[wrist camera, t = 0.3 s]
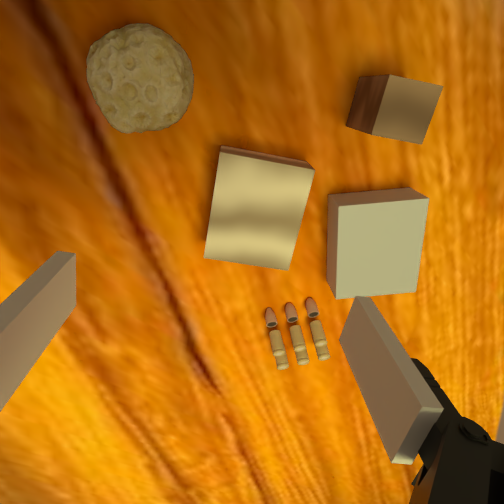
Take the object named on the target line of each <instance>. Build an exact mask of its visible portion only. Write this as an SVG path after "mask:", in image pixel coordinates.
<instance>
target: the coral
mask: <svg viewBox="0 0 504 504" xmlns="http://www.w3.org/2000/svg"><path fill="white" fill-rule="evenodd" d="M87 82H88V84H89V87H90V89H91V91H92V94H93V97H94V99H95V100H96V104H97V105H99V106H100V109H101V111H102V113H103V114H104V116H105V117H106V118H107V120H108V122H109V123H110V124H111V126H112V127H114V128H115V129H117V130H118V131H120V132H122V133H132V132H139V133H143V132H144V131H155V130H162V129H164V128H168V127H169V126H170V125H172V124H174V123H177V122H178V121H179V120H180V119H181V118H182V116H183V115H184V113H185V112H186V111H187V107H188V105H189V103H190V101H191V99H192V94H193V84H194V74H193V69H192V66H191V61H190V59H189V58H188V56H187V54H186V52H185V51H184V50H183V49H182V48H181V46H180V44H178V43H177V42H175V41H174V40H173V38H172V37H171V36H170V35H169V34H167V33H165V32H164V31H163V30H161V29H159V28H157V27H155V26H152V25H150V24H140V23H136V24H129V25H126V26H125V27H123V28H121V29H116V30H115V29H114V30H113V31H111V32H110V33H107V34H105V35H104V36H103V37H102V38H101V39H100V40H97V41H95V42H94V43H93V45H91V46H90V50H89V53H88V57H87Z"/></svg>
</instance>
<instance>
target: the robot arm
mask: <svg viewBox="0 0 504 504" xmlns="http://www.w3.org/2000/svg"><path fill="white" fill-rule="evenodd" d="M75 306H76V254H75V253H68V252H61V251H57V252H56V253H55V254H54V255H53V256H51V257H50V258H49V259H48V260H47V261H46V262H45V263H44V264H43V265H42V266H41V267H40V268H39V269H38V270H37V271H35V272H34V273H33V274H32V275H31V276H30V277H29V278H28V279H27V280H26V281H25V282H24V283H23V284H22V285H21V286H19V287H18V288H17V289H16V290H15V291H14V292H13V293H12V294H11V295H10V296H9V297H8V298H7V299H6V300H4V301H3V302H2V303H1V304H0V411H1V410H2V409H3V407H4V406H5V404H6V403H7V402H8V400H9V399H10V397H11V396H12V395H13V393H14V392H15V390H16V389H17V388H18V386H19V385H20V383H21V382H22V381H23V379H24V378H25V376H26V375H27V374H28V372H29V371H30V369H31V368H32V367H33V365H34V364H35V362H36V361H37V360H38V358H39V357H40V355H41V354H42V353H43V351H44V350H45V348H46V347H47V346H48V344H49V343H50V341H51V340H52V339H53V337H54V336H55V334H56V333H57V332H58V330H59V329H60V327H61V326H62V325H63V323H64V322H65V320H66V319H67V318H68V316H69V315H70V313H71V312H72V311H73V309H74V308H75ZM339 341H340V344H341V346H342V348H343V351H344V353H345V355H346V358H347V360H348V362H349V365H350V367H351V369H352V372H353V374H354V376H355V379H356V381H357V384H358V386H359V388H360V391H361V393H362V395H363V398H364V400H365V402H366V405H367V407H368V409H369V412H370V414H371V416H372V419H373V421H374V423H375V426H376V428H377V430H378V433H379V435H380V438H381V440H382V442H383V445H384V447H385V449H386V452H387V454H388V456H389V459H390V461H391V463H399V464H412V463H413V461H414V459H415V458H416V456H417V454H418V453H419V455H420V457H421V459H422V461H423V463H424V464H423V465H422V467H421V469H420V470H419V472H418V474H417V475H416V477H415V479H414V480H413V482H412V485H413V486H414V490H413V493H412V496H411V499H410V502H409V504H504V444H501V443H498V442H496V441H493V440H492V439H491V438H490V436H489V435H488V433H487V432H486V431H485V430H484V429H483V428H482V427H481V426H480V425H478V424H477V423H475V422H474V421H472V420H470V419H468V418H466V417H462V416H461V415H460V414H459V413H458V411H457V410H456V408H455V407H454V405H453V404H452V403H451V401H450V400H449V398H448V397H447V395H446V394H445V392H444V391H443V390H442V389H441V388H440V385H439V384H438V382H437V381H436V380H434V379H435V378H434V377H433V375H432V374H431V372H430V371H429V370H428V368H427V367H426V366H424V365H423V364H422V363H421V362H420V361H419V360H418V359H414V358H410V357H409V355H408V354H407V352H406V351H405V349H404V348H403V346H402V345H401V343H400V342H399V340H398V339H397V337H396V336H395V334H394V333H393V331H392V330H391V328H390V327H389V325H388V324H387V322H386V321H385V319H384V318H383V316H382V315H381V313H380V312H379V310H378V308H377V307H376V305H375V304H374V302H373V301H372V299H371V298H369V297H362V296H355V299H354V302H353V304H352V307H351V310H350V312H349V315H348V318H347V320H346V323H345V326H344V328H343V331H342V334H341V336H340V339H339Z"/></svg>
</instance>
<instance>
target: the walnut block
mask: <svg viewBox="0 0 504 504" xmlns="http://www.w3.org/2000/svg"><path fill="white" fill-rule="evenodd" d="M442 88H443V86H440V85H435V84H431V83H426V82H422V81H417V80H412V79H408V78H403V77H399V76H394V75H379V76H367V77H359V80H358V84H357V88H356V91H355V95H354V98H353V102H352V106H351V109H350V113H349V117H348V120H347V124H346V126H347V127H350V128H353V129H356V130H359V131H362V132H365V133H368V134H371V135H375V136H381V137H386V138H391V139H396V140H401V141H406V142H412V143H417V144H422V143H423V140H424V137H425V135H426V132H427V129H428V126H429V124H430V121H431V118H432V116H433V113H434V110H435V107H436V105H437V102H438V99H439V97H440V94H441V91H442Z"/></svg>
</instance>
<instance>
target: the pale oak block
mask: <svg viewBox="0 0 504 504" xmlns="http://www.w3.org/2000/svg"><path fill="white" fill-rule="evenodd" d="M314 173H315V169H314V168H313V167H312V166H311V165H310V164H309V163H308V162H307V161H301V160H296V159H291V158H286V157H281V156H276V155H270V154H265V153H260V152H255V151H250V150H244V149H239V148H234V147H229V146H224V145H221V149H220V155H219V161H218V168H217V174H216V181H215V187H214V194H213V200H212V207H211V213H210V220H209V226H208V233H207V239H206V246H205V252H204V258H208V259H215V260H221V261H228V262H235V263H241V264H248V265H254V266H261V267H268V268H274V269H281V270H289V266H290V262H291V258H292V255H293V251H294V247H295V243H296V240H297V236H298V232H299V229H300V225H301V221H302V217H303V214H304V210H305V206H306V202H307V199H308V195H309V191H310V188H311V184H312V180H313V176H314Z"/></svg>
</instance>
